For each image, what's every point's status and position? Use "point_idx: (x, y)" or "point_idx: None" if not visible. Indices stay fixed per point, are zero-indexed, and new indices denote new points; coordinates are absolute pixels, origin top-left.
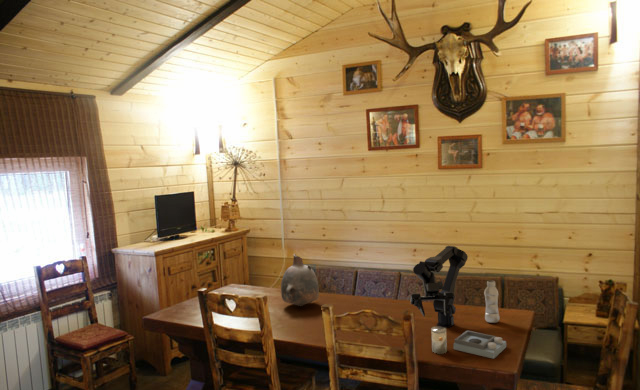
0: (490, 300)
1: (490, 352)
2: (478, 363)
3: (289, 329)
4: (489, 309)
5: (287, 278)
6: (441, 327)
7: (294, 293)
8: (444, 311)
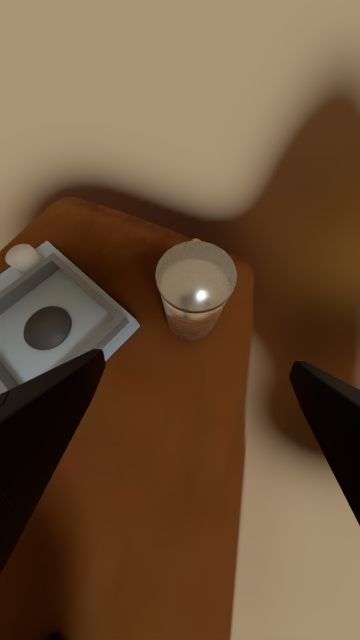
0: None
1: (53, 246)
2: (111, 234)
3: None
4: None
5: None
6: (175, 290)
7: None
8: (78, 413)
